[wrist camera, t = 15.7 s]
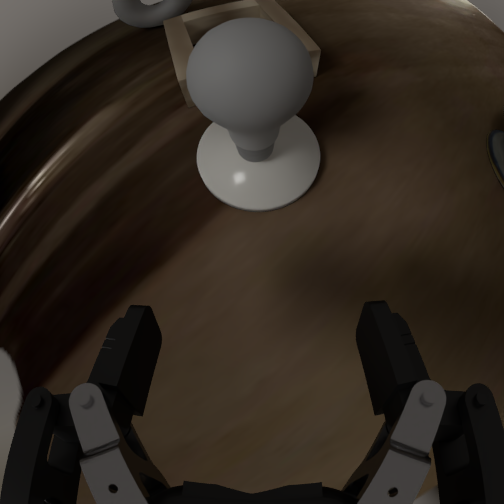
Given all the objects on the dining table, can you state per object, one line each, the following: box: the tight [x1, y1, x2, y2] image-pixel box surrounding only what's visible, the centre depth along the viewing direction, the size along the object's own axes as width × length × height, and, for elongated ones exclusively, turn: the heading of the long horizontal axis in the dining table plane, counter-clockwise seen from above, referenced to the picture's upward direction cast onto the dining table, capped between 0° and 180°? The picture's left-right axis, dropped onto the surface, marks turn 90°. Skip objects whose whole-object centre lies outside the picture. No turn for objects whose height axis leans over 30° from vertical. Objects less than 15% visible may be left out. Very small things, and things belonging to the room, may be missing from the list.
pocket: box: [163, 0, 321, 108], centre depth 21 cm, size 12×12×4 cm
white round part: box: [197, 115, 320, 212], centre depth 20 cm, size 9×9×1 cm
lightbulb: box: [186, 17, 314, 162], centre depth 14 cm, size 6×6×11 cm
